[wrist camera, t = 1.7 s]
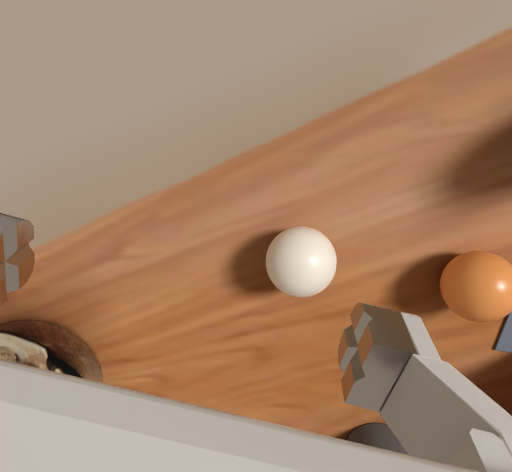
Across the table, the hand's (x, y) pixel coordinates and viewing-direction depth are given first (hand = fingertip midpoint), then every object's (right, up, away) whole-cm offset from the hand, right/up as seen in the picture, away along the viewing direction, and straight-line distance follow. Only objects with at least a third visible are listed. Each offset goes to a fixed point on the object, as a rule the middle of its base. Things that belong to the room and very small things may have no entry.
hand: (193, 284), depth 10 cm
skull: (-20, -12, +29) cm, 37 cm away
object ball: (+19, -3, +21) cm, 28 cm away
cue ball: (+5, -1, +21) cm, 21 cm away
